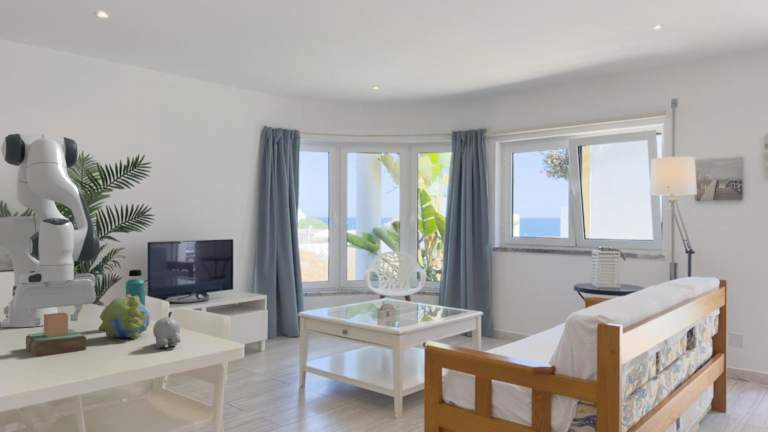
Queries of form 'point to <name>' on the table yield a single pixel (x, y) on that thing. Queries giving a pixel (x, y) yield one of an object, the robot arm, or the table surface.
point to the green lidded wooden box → (55, 343)
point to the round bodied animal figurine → (166, 332)
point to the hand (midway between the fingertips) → (55, 322)
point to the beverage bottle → (136, 286)
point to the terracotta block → (55, 324)
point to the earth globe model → (125, 318)
